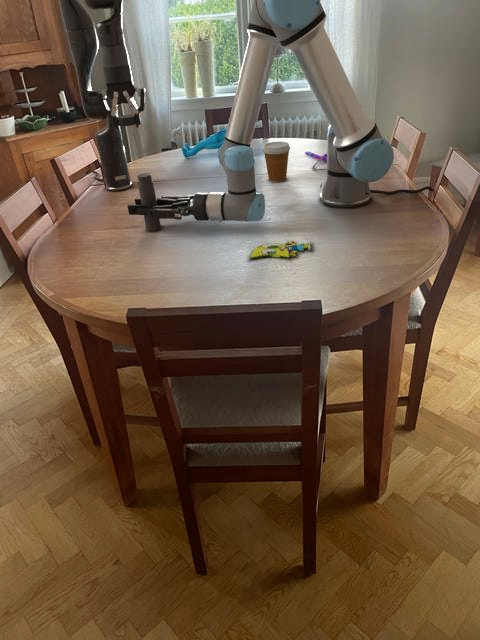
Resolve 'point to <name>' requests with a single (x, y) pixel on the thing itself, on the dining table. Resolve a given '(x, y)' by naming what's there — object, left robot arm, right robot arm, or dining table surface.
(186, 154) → the toy
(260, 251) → the toy
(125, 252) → the dining table surface
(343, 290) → the dining table surface
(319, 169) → the musical instrument
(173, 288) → the dining table surface
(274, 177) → the disposable coffee cup
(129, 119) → the lid
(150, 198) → the jar
